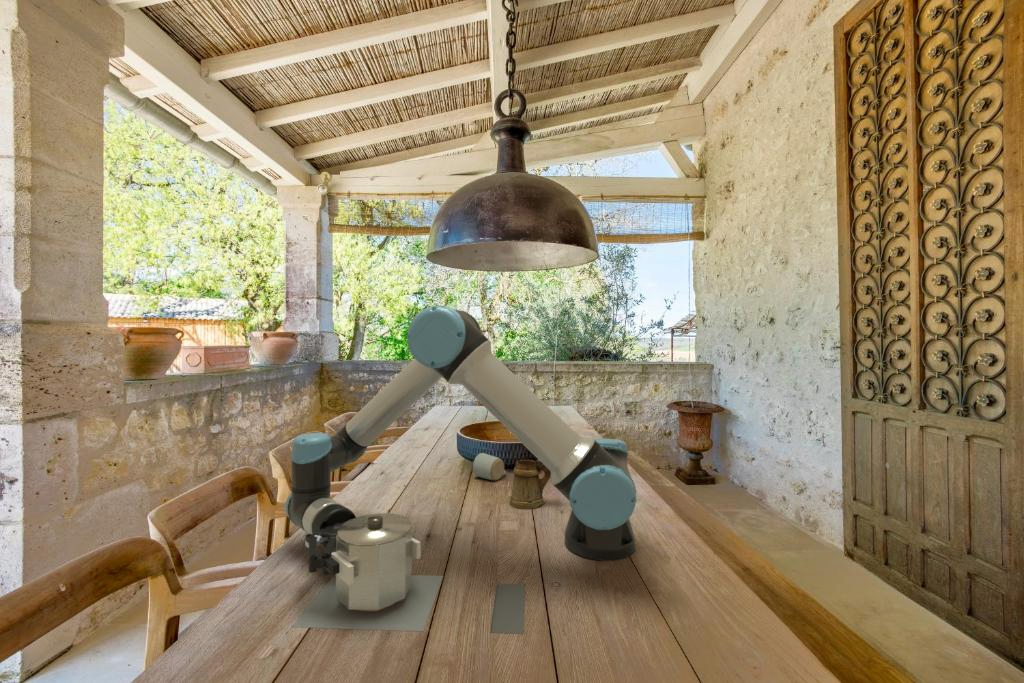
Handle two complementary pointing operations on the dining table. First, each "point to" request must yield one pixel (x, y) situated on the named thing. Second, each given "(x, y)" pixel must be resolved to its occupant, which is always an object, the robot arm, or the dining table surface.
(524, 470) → the wooden mug
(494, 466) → the ceramic mug
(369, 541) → the stockpot with side handles
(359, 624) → the serving board
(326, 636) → the dining table surface
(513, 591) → the rubber mat
